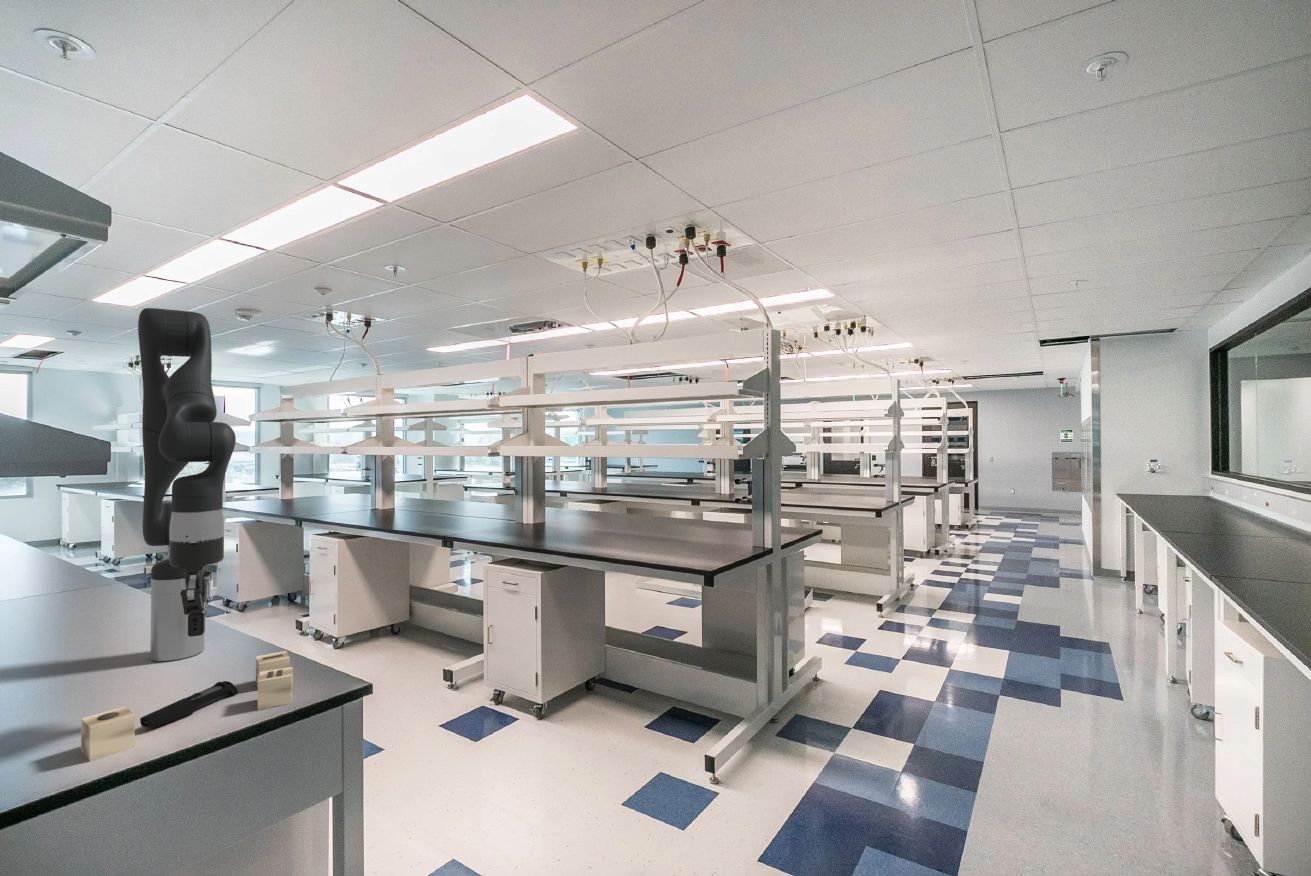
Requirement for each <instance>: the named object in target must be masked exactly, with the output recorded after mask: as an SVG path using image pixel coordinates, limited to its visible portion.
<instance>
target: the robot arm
mask: <svg viewBox="0 0 1311 876" xmlns="http://www.w3.org/2000/svg"><path fill="white" fill-rule="evenodd" d="M138 315H139V316H138V322H137V333H138V342H139V343H138V344H139V345H138V346H139V355H140V356H139V357H140V367H141V379H142V422H141V423H142V427H141V430H142V449H143V463H144V487H143V488H144V489H143V490H144V491H143V505H142V506H143V509H142V535H143V539H144V543H146V544H147V545H148V546H150V547H162V546H163V547H164V546H169V547H168V548H169V551H168V553H169V554H168V557H169V558H167V559H164V560H161V561H159V562H156V563H155V564H153V565H152V566H151V569H150V570H151V571H150V578H151V579H150V645H149V646H150V651H149V654H150V655H149V656H150V657H149V658H150V660H151V661H154V662H166V661H176V660H182V659H186V658H189V657H193V656H196V655H199V654H201V653H202V652H204V650H205V642H206V641H205V640H206V639H205V633H206V612H207V609H208V604H209V603H210V599H209V597H210V596H211V581H212V580H213V571H212V570H209V566H210V565H213V564H218V563H220V562H221V561H223V559H224V558H225V556H224V555H225V553H224V552H225V519H224V512H223V494H224V492H223V490H224V482H225V481H224V480H225V477H226V473H227V469H228V467H229V463H230V461H231V458H232V456H233V452H234V450H235V446H236V442H237V441H236V438H237V436H236V433H235V431H234V429H233V428H232V427H231V426H230V425H229V424H227V423H224V422H222V421H221V422H219V421H218V422H217V421H215V420H216V418H217V413H218V411H217V405H216V401H215V396H214V395H215V394H214V392H213V384H212V369H213V368H212V366H213V364H212V363H213V361H212V360H213V359H212V336H211V335H212V334H211V329H210V323H209V321H208V319H207V317H206V316H205V315H204V314H202V313H199V312H195V311H188V310H180V309H179V310H178V309H177V310H176V309H167V308H166V309H165V308H158V307H157V308H156V307H155V308H154V307H145V308H143V309H141V311H140V313H139V314H138ZM163 356H164V357H165V356H166V357H179V358H180V357H181V358H182V357H183V358H185V357H186V358H188V360H187V361H185V362H184V363H183V364H182V365H180V367H178V368H177V369H176V370H175V371H174V372H173V373H172V374H171V375H170V376H169V375H168V373H167V372H166V369H165V368H164V366H163V364H162V360H161V358H162V357H163ZM189 463H208V466H207V467H206V468H205V470H203V471H202V472H201V471H200V472H198V473H195V474H190V475H185V476H181V477H178V475H179V474H180V473H181V472H182V471H183V470H184V468H185V467H186V466H187V465H189ZM176 477H177V478H176ZM170 486H171V502H163V501H164V497H165V495H166V493H167V491H168V489H169V488H170Z"/></svg>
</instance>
